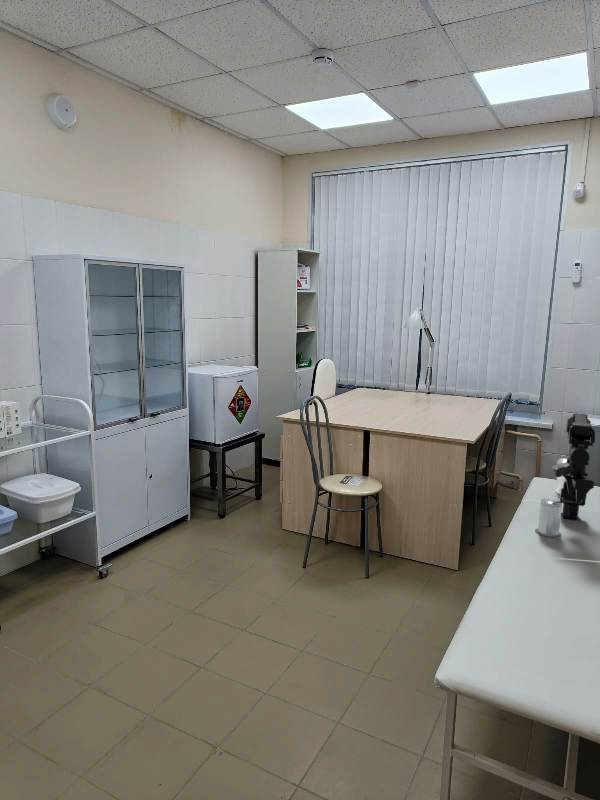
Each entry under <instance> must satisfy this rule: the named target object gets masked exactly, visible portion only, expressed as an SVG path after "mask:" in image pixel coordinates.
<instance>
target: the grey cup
mask: <svg viewBox="0 0 600 800" xmlns="http://www.w3.org/2000/svg"><path fill="white" fill-rule="evenodd" d="M562 510H563V503H562V502H560V500H558V499H554V498H541V500H540V507H539V514H538V515H539V517H538V526H537V527H538V532H539V533H540V534H542V535H544V536H549V537H556V536H559V532H560V526H561V519H562V516H561V513H562Z"/></svg>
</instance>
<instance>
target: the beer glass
mask: <svg viewBox="0 0 600 800" xmlns="http://www.w3.org/2000/svg"><path fill="white" fill-rule="evenodd" d="M567 459H568V458H567V457H566V458H564V457H562V458H561V457H560V458H558V459H557V463H556V465H557V464H560V463H566V462H567ZM565 481H566V479H565V478H564V477H563V476H561V477H556V487H555V490H554V491H555V493H556V494H558V495H560V493H561V488H563V485H564V483H565Z"/></svg>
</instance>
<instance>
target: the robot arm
mask: <svg viewBox="0 0 600 800" xmlns="http://www.w3.org/2000/svg"><path fill="white" fill-rule="evenodd" d="M572 414H573V415H572V416H571V417H569V418H567V419H566V420H567V421H566V430H565V433H567V439H568V444H569V445H570V450H569V451H570V452H569V453H570V454H569V457H567V458H566V459H567V462H566V463H560V464H557V463H556V464H553V465H552V466H551V470H552V473H553V475H554V476H555V478H557V477H561V476H563V477H564V478H565V479H566V481H565V483H564V485H563V488H561V493H560V494H559V501H560V502H562V510H561V519H563V520H570V521H571V520H572V521H582V519H581V518H580V516H579V512H580V507H584V506H585V505H586V501H587V498H588V497H587V495H588V493H589V492H590V491H591V490H593V489H594V488H595V482H594V481H593V480H592V479H591V478H590V477H588V476H589V475H588V472H587V467H588V466H589V465H590V463H589V461H590V458H591V457H590V451H589V447H593V445H594V444H595V442H596V431H595V428H594V427H593V426H592V424H591V422H592V421H591V420H589V418H588V414H586V413H579V412H575V413H572Z"/></svg>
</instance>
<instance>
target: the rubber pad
mask: <svg viewBox="0 0 600 800" xmlns="http://www.w3.org/2000/svg"><path fill="white" fill-rule="evenodd" d="M534 531H535V534H537V535H538V536H540V537H544V538H547V539H548V538H549V539H558V538H561V537H562V536H563V535H562V534H563V533H561V532H560V531H559V536H556V537H549V536H544V535H542V534H540V533H539V532H538V528H536V529H534Z"/></svg>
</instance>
